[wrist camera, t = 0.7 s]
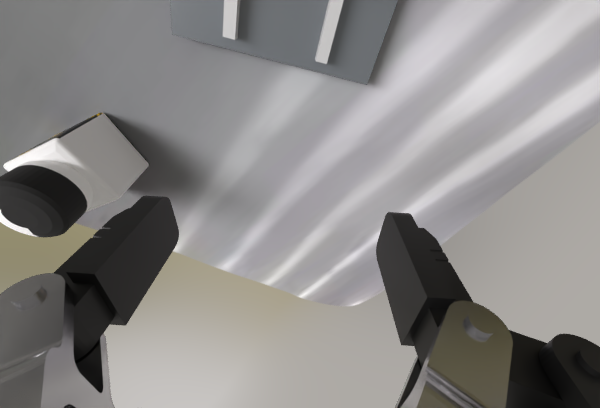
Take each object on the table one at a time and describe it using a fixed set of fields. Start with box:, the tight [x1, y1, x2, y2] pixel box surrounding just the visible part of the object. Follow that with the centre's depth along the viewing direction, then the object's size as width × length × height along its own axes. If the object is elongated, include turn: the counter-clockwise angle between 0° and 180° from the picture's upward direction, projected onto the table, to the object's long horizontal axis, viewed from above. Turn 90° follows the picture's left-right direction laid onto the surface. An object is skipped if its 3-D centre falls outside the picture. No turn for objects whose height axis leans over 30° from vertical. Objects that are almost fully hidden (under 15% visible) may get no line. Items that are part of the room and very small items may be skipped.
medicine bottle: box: [0, 113, 149, 237], centre depth 26 cm, size 7×7×12 cm
